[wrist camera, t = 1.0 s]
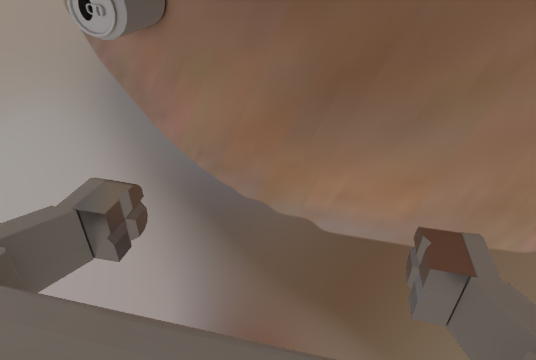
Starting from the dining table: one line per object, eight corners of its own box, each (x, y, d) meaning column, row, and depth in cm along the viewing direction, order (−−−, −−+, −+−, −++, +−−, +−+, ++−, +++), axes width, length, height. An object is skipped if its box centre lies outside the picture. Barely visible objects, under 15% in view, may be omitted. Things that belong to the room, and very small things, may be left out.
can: (116, -37, 49) (53, -33, 39) (166, -30, 48) (113, -23, 38) (123, 20, 53) (68, 37, 44) (169, 28, 52) (122, 48, 43)
